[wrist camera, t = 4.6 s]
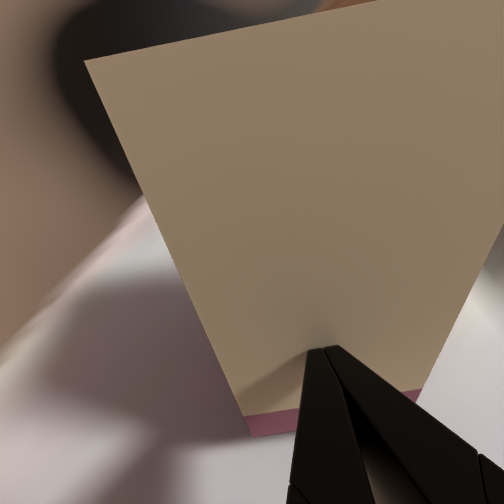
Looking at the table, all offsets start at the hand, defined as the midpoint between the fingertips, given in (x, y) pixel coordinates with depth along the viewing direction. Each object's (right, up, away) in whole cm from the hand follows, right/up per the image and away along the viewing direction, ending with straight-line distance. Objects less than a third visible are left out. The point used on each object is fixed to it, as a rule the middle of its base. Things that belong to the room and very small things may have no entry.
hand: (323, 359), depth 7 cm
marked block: (+1, -2, +6) cm, 6 cm away
